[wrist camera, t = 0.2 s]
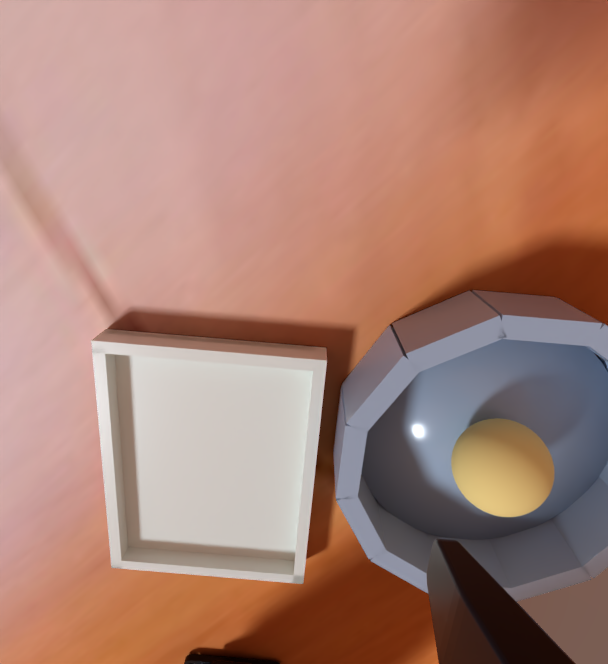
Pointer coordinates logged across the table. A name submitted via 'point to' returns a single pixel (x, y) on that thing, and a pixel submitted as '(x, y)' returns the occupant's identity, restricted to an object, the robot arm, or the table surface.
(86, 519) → the table surface
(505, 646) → the robot arm
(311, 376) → the tray
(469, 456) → the ball
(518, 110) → the table surface
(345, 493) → the bowl
